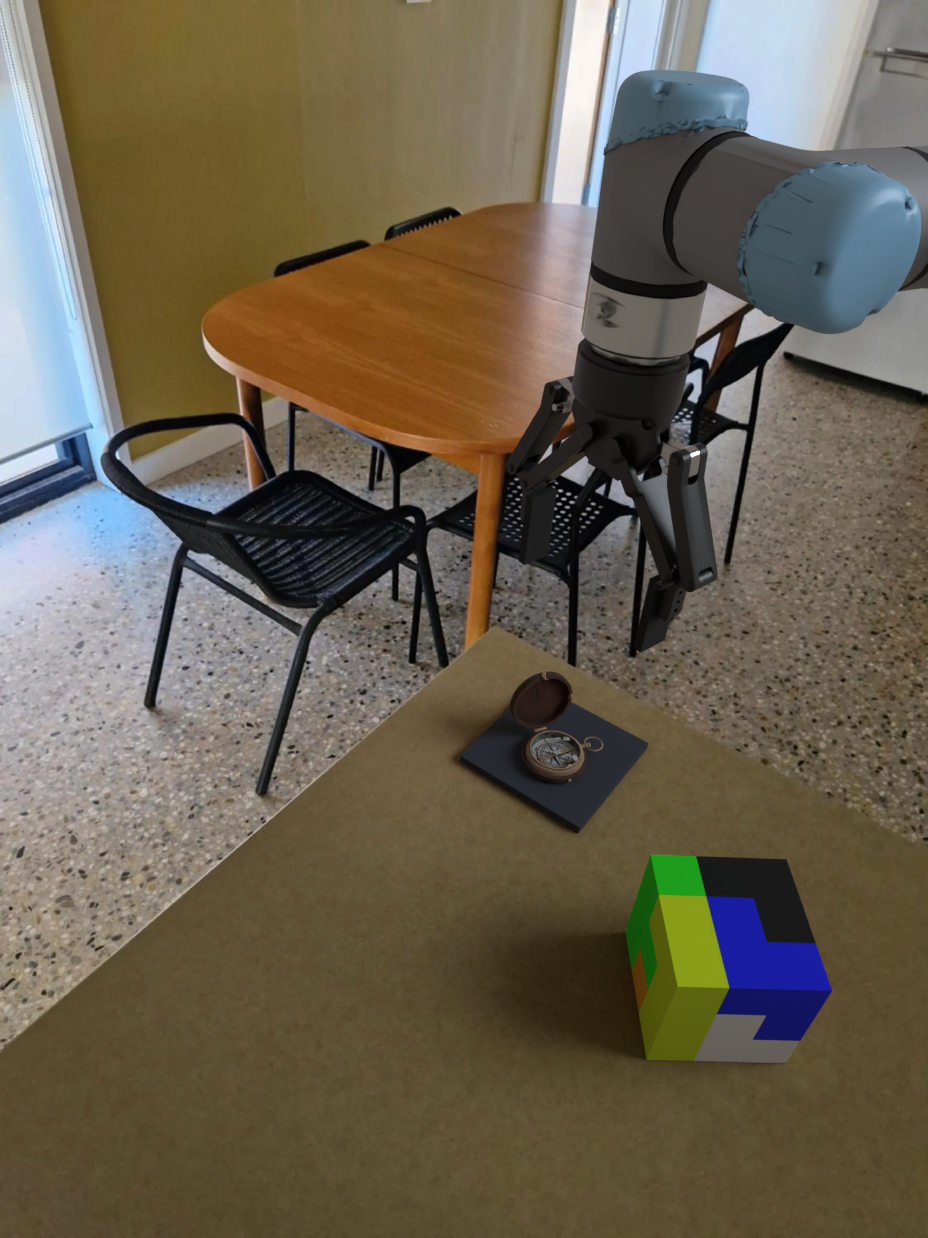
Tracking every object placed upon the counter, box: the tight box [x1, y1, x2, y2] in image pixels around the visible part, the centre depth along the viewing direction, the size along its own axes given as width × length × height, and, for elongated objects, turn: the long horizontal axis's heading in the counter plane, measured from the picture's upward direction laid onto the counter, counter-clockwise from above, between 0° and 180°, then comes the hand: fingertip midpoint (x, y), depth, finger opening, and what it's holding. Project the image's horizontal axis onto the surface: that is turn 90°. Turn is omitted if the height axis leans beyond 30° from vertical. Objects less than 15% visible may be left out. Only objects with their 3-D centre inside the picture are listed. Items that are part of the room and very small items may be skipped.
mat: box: [459, 701, 649, 834], centre depth 84 cm, size 13×13×1 cm
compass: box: [509, 670, 603, 783], centre depth 81 cm, size 8×8×7 cm
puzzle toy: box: [624, 854, 833, 1064], centre depth 63 cm, size 10×10×10 cm
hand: (587, 599), depth 72 cm, fingers open, 13 cm apart
